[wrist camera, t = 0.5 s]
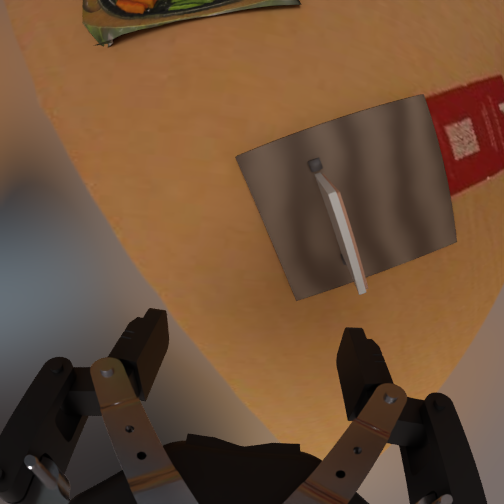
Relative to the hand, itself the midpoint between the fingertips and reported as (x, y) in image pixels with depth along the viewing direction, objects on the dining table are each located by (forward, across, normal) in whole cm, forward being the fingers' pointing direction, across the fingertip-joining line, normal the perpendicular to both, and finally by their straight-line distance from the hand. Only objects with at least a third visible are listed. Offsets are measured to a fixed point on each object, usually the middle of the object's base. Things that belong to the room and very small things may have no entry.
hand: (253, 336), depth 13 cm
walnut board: (+26, -11, -2) cm, 28 cm away
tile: (+18, -7, 0) cm, 20 cm away
